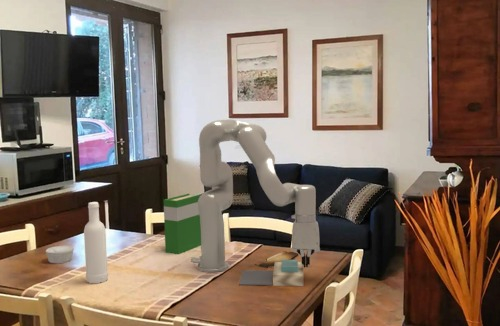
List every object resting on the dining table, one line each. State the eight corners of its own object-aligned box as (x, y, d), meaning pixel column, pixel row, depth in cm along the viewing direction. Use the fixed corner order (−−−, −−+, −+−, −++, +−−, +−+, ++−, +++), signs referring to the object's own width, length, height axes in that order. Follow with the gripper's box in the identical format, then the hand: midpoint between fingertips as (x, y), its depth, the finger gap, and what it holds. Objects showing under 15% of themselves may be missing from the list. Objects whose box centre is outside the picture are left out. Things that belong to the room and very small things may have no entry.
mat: (238, 285, 194) (238, 284, 194) (243, 271, 210) (243, 270, 210) (271, 285, 193) (271, 284, 193) (273, 271, 209) (273, 270, 209)
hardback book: (189, 243, 254) (187, 193, 252) (202, 245, 251) (200, 194, 248) (165, 252, 239) (163, 199, 237) (178, 254, 235) (176, 201, 233)
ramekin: (40, 263, 226) (39, 251, 226) (59, 256, 237) (58, 244, 236) (61, 265, 222) (60, 253, 222) (79, 258, 233) (78, 246, 232)
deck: (272, 285, 193) (272, 275, 193) (274, 271, 209) (274, 261, 208) (303, 286, 192) (303, 275, 192) (302, 272, 208) (302, 262, 208)
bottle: (85, 278, 205) (81, 201, 201) (106, 275, 208) (102, 200, 204) (87, 285, 197) (83, 205, 194) (109, 282, 200) (105, 203, 197)
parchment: (284, 251, 238) (284, 249, 238) (303, 254, 232) (303, 252, 232) (252, 266, 218) (252, 264, 218) (272, 270, 212) (272, 268, 212)
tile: (281, 272, 196) (281, 266, 196) (282, 264, 205) (282, 259, 205) (297, 272, 195) (297, 267, 195) (297, 264, 204) (297, 259, 204)
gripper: (285, 220, 194) (285, 269, 196) (326, 220, 193) (326, 269, 195) (285, 216, 202) (285, 263, 204) (325, 216, 200) (325, 263, 203)
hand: (305, 266), depth 199 cm, fingers closed
